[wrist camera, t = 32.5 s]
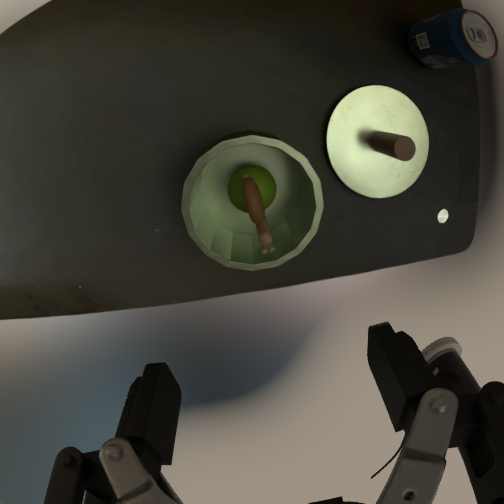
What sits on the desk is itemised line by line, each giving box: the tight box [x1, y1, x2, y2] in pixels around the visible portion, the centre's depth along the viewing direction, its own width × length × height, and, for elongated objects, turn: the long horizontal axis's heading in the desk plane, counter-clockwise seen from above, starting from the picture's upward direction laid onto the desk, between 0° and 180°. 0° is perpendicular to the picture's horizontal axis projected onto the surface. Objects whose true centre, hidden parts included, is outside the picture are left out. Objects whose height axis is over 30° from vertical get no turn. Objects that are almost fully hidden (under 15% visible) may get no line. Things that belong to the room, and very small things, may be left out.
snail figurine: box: [227, 165, 277, 254], centre depth 31 cm, size 5×6×12 cm
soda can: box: [408, 8, 498, 69], centre depth 22 cm, size 7×7×12 cm
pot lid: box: [325, 85, 429, 198], centre depth 31 cm, size 15×15×7 cm
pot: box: [181, 131, 324, 271], centre depth 33 cm, size 14×14×8 cm
